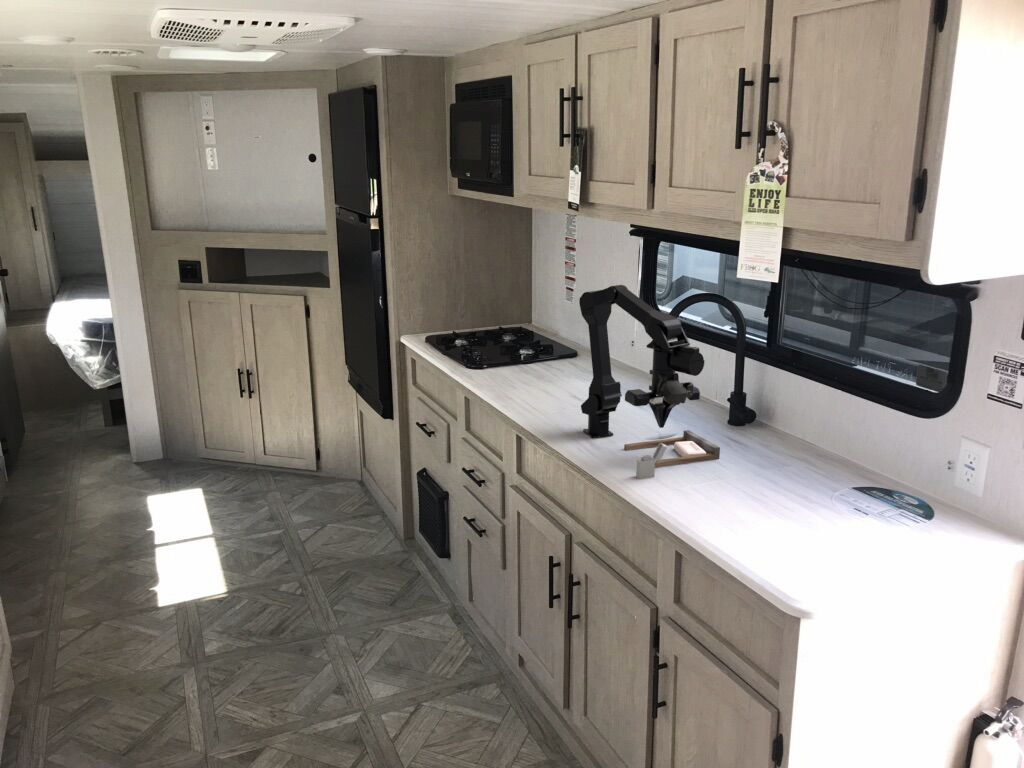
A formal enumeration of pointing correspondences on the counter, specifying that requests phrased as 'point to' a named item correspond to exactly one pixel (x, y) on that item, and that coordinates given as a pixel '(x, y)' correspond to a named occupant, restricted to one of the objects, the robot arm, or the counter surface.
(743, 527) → the counter surface
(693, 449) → the soap bar
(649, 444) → the guide channel
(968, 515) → the counter surface
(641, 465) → the lighter
